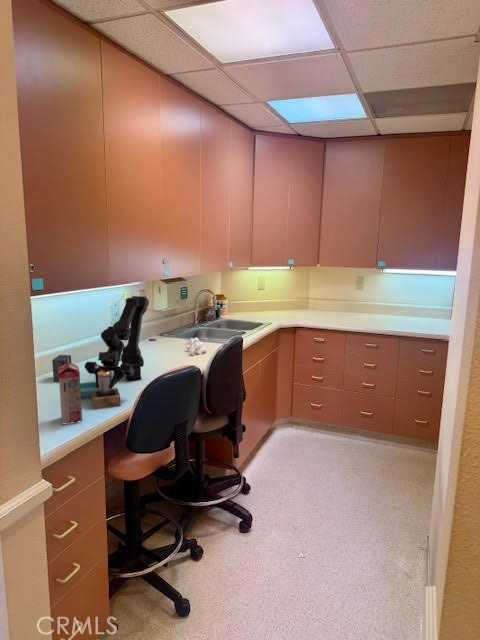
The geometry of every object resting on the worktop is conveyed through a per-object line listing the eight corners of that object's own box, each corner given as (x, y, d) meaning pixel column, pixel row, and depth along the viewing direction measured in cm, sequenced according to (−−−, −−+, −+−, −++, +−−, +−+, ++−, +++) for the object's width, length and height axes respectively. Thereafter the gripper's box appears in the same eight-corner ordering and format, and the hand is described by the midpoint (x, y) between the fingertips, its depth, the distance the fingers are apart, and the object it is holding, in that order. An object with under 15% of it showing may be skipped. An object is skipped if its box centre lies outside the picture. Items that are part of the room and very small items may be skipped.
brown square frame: (117, 396, 177) (116, 387, 176) (120, 405, 168) (120, 396, 167) (91, 400, 173) (91, 390, 172) (93, 409, 164) (93, 399, 163)
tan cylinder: (111, 399, 174) (110, 368, 171) (113, 404, 169) (112, 372, 167) (98, 401, 172) (97, 370, 169) (99, 406, 167) (98, 373, 165)
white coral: (211, 349, 241) (199, 338, 237) (200, 361, 240) (188, 351, 236) (205, 344, 252) (193, 334, 248) (195, 356, 251) (183, 346, 247)
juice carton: (80, 414, 159) (77, 357, 155) (82, 422, 153) (79, 362, 149) (61, 417, 156) (57, 358, 152) (62, 424, 150) (58, 364, 146)
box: (60, 376, 200) (59, 354, 198) (72, 377, 200) (71, 355, 198) (53, 382, 192) (51, 359, 190) (65, 382, 192) (64, 359, 190)
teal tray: (97, 388, 186) (97, 381, 186) (100, 396, 177) (99, 389, 176) (70, 391, 182) (69, 384, 182) (71, 400, 172) (70, 393, 172)
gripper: (85, 342, 171) (72, 377, 162) (130, 344, 169) (120, 380, 160) (95, 355, 180) (83, 390, 171) (138, 358, 178) (129, 393, 169)
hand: (103, 388), depth 168 cm, fingers closed on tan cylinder, 5 cm apart
